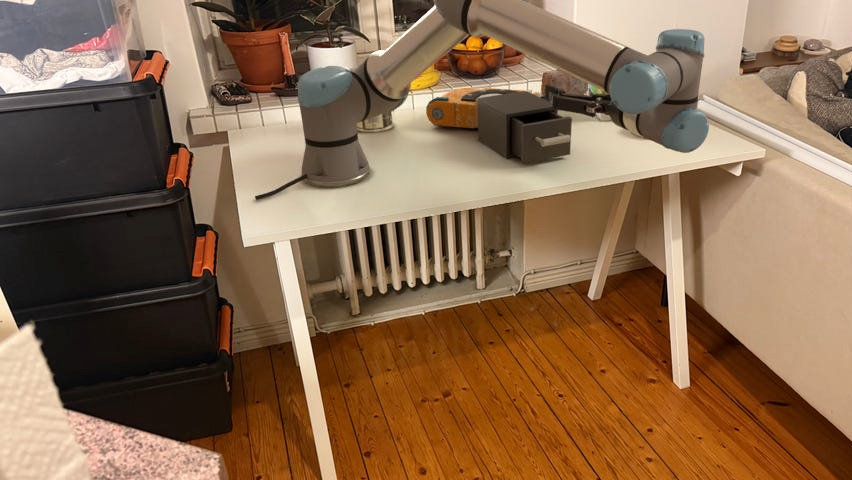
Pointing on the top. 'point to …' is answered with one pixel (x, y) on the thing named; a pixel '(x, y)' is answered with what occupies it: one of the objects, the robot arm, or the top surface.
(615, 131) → the top surface
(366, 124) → the coffee can
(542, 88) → the food item
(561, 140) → the drawer
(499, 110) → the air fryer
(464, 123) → the device
